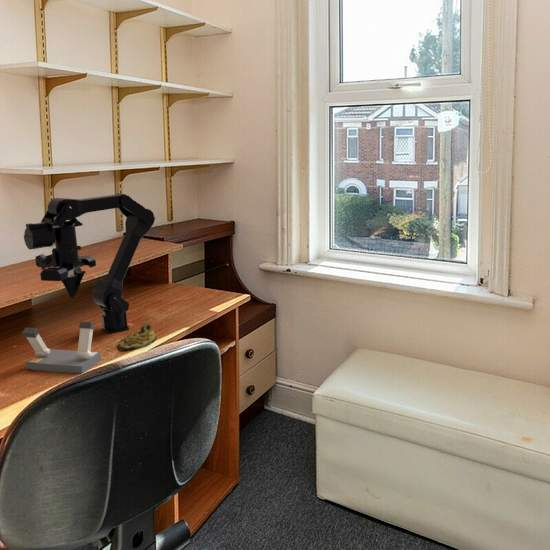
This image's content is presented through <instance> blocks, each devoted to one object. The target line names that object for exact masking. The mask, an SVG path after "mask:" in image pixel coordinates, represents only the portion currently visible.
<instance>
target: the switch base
mask: <svg viewBox="0 0 550 550" xmlns="http://www.w3.org/2000/svg"><path fill="white" fill-rule="evenodd" d="M49 349H50V354H49V355H36V354H35V356H33V357H32V358H30V359H28V360H27V361H25V362H24V363H25V368H26V370H27V369H31V371H40V370H42V371H43V372H57V373H69V374H81V375H83V374H84V373H85V372H87V371H88V370H90V369H91V368H92V367H93V366H95V365H96V364H97V363H99V362H100V361H101V360H102V355H101V352H98V351H97V352H96V351H90V352H91V357H90V358H77V357H76V352H77V351H78V350H69V349H67V350H65V349H64V350H63V349H51V348H49ZM42 371H41V372H42ZM82 373H83V374H82Z"/></svg>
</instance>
